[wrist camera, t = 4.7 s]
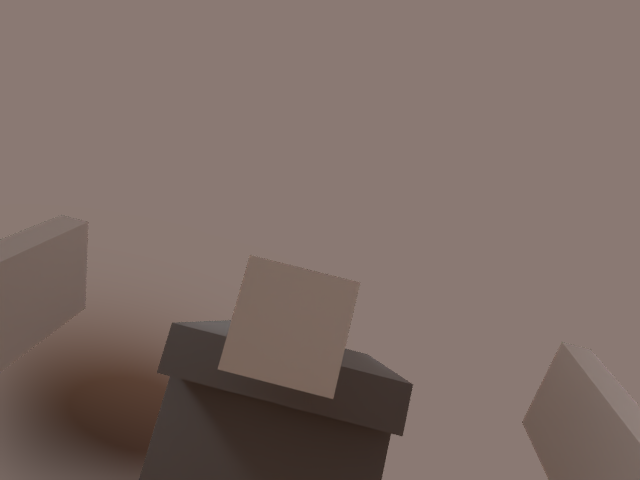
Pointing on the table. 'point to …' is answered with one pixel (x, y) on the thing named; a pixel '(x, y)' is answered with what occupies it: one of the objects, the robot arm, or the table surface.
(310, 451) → the shelf stand
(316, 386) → the beige teal square bar
